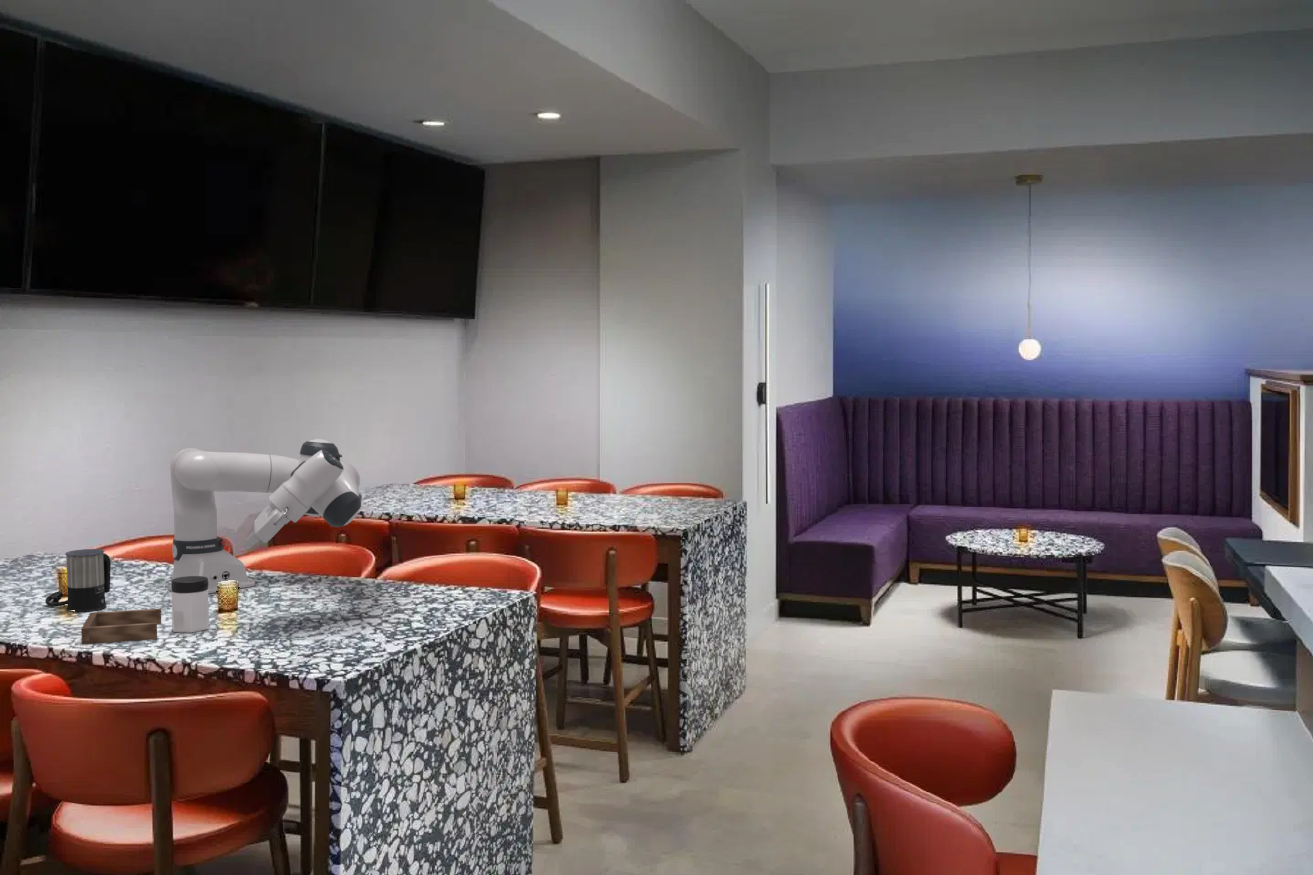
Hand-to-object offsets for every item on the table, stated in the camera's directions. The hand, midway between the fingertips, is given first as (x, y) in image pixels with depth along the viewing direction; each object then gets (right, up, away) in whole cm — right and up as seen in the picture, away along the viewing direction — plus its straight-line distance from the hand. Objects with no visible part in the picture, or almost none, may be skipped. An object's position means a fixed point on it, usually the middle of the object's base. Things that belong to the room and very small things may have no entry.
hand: (244, 547), depth 275 cm
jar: (-12, -19, -3) cm, 23 cm away
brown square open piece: (-25, -19, -7) cm, 33 cm away
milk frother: (-51, -18, +20) cm, 57 cm away
